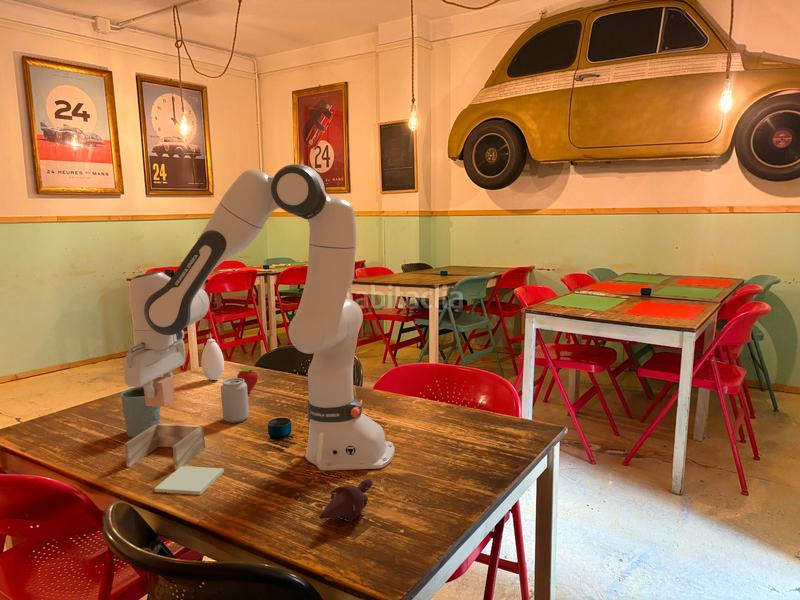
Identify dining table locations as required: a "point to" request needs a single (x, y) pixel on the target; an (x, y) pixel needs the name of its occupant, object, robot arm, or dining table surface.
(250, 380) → the strawberry
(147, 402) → the block
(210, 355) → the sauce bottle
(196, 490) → the green mat
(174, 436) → the open box
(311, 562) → the dining table surface
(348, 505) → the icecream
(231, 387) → the can
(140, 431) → the grey cup
